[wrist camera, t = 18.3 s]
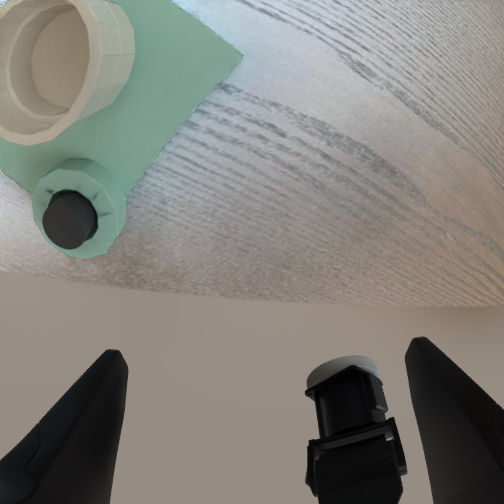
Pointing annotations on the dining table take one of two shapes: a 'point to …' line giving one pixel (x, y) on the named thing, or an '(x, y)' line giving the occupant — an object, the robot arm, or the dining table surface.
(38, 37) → the bowl
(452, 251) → the dining table surface
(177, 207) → the dining table surface
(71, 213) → the button
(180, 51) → the scale
